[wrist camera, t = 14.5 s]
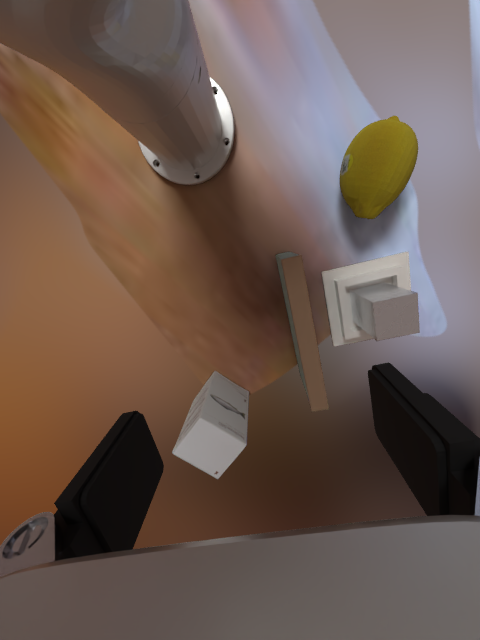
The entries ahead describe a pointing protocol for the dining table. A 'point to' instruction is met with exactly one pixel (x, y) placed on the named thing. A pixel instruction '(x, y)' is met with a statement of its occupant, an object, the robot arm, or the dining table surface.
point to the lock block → (385, 310)
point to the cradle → (358, 276)
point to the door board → (302, 327)
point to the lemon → (378, 166)
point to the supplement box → (215, 426)
